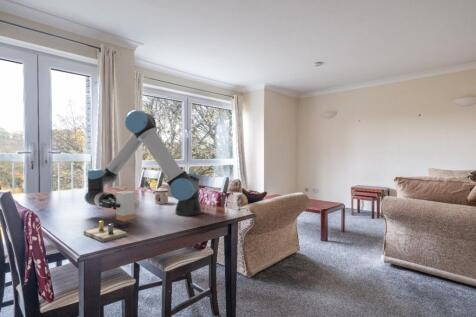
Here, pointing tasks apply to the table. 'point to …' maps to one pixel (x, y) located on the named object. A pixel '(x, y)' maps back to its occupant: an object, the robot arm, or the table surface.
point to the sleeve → (129, 199)
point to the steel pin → (110, 228)
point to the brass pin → (101, 225)
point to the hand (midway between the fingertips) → (131, 205)
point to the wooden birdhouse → (161, 195)
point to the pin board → (104, 234)
